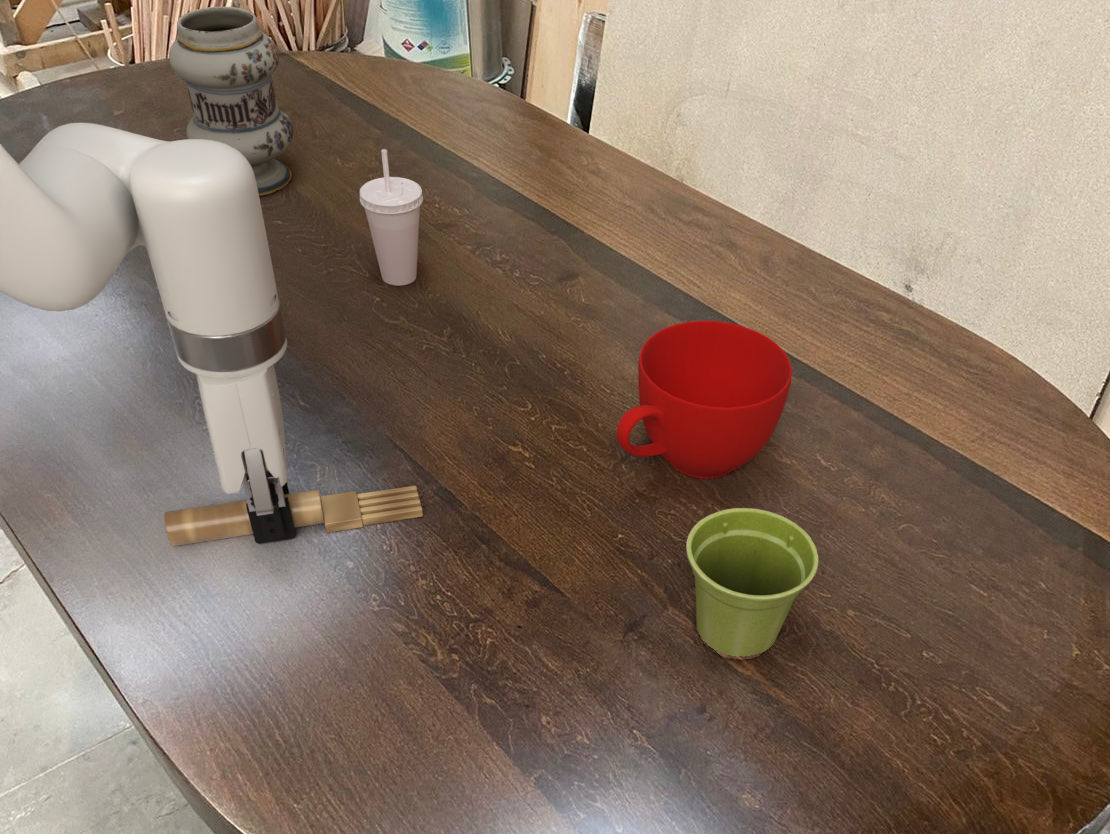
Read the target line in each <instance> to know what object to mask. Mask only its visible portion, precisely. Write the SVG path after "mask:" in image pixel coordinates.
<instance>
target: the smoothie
mask: <svg viewBox="0 0 1110 834" xmlns="http://www.w3.org/2000/svg"><path fill="white" fill-rule="evenodd" d="M380 152H381V161H382V170H383V177H378V178H374V179H372V180H369V181H367V182H365V183H363V185H362V186H361V187H360V188H359V202H360V205H361V206H362V207H363V208H364V211H365V215H366V220H367V224H368V227H369V231H370V236H371V239H372V244H373V248H374V252H375V256H376V259H377V264H378V267H379V271H380V276H381V279H382V281H383V282H384V283H386V284H388V285H390V286H395V287H396V286H406V285H410V284H412V283H414V282H415V281H416V279H417V272H418V251H419V231H420V209H421V205H422V203H423V202H424V196H423V190H422V187H421V186H420V184H419V183H417V182H416V181H414V180H412V179H409V178H405V177H400V176H390V167H389V158H388V149H385V148H383V149H381V150H380Z"/></svg>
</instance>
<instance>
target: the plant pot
mask: <svg viewBox="0 0 1110 834" xmlns="http://www.w3.org/2000/svg"><path fill="white" fill-rule="evenodd" d="M685 544H686V546H685V547H686V548H685V550H686V551H685V553H686V557H687V560H688V562H689V565H690V567H691V570H692V574H693V576H694V585H695V587H694V589H695V612H696V613H695V614H696V615H695V616H696V617H695V618H696V631H697V630H698V632H699V634H700V636H701V637H702V639H703V641H705V642H706V643H707V644H708V645H709V646H710V647H711V648H713V649H714V650H717V651H718V652H721V653H724V654H727V655H731V656H743V657H745V656H751V655H755V654H759V653H762V652H764V651H766V650H767V649H769V648H770V647H771V646H772V645H773V646H774V644H775V642H776V640H777V638H778V636H779V634H780V632H781V630H782V627H783V625H784V623H785V621H786V618H787V616H788V614H789V612H790V610H791V608H792V606H793V603H794V601H795V599H796V597H797V596H798V595H800V593H801V592H802V591H803V590H804V589H805V588H806V587H807V586H808V585H810V584H811V582H812V581H813V579H814V577H815V575H816V574H817V571H818V567H819V554H818V550H817V547H816V545H815V543H814V541H813V540H812V538H811V537H810V535H809V534H808V532H807V531H805V529H803V528H802V527H801V526H800V525H798V524H797V523H796V522H794V521H792V520H791V519H789V518H787V517H784V516H783V515H781V514H778V513H775V512H772V511H769V510H764V509H759V508H749V507H736V508H728V509H722V510H720V511H719V510H718V511H716V512H714V513H711V514H709V515H707V516H705V517H704V518H701V519H700V520H699V521H698V522H697V523H696V524H695V525H694V526H693V527H692V528H691V530H690V532H689V533H688V536H687V539H686V543H685ZM773 643H774V644H773ZM773 646H772V647H773ZM772 647H771V648H772ZM711 648H710V649H711ZM771 648H770V649H771ZM770 649H769V650H770ZM714 650H713V651H714ZM766 652H767V651H766Z"/></svg>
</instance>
